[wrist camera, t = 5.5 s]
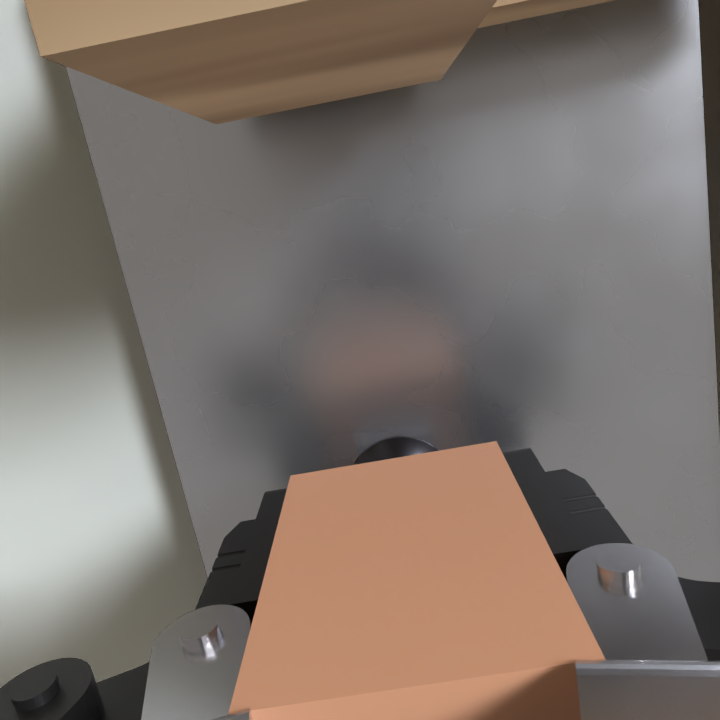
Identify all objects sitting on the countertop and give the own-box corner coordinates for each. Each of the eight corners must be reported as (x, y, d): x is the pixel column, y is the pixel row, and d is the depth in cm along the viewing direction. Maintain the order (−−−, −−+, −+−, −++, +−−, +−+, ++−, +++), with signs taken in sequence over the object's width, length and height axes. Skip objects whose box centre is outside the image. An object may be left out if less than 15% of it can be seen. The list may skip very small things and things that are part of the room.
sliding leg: (300, 436, 13) (228, 713, 6) (478, 405, 13) (604, 658, 6) (332, 578, 14) (298, 960, 7) (499, 551, 14) (633, 919, 7)
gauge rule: (203, -69, 12) (-149, -611, 4) (825, -204, 11) (2007, -1201, 3) (355, 630, 16) (342, 1114, 8) (829, 558, 15) (1371, 1000, 7)
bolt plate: (57, -38, 12) (28, -58, 11) (661, -169, 12) (690, -203, 11) (243, 647, 16) (234, 680, 15) (705, 577, 15) (729, 605, 14)
